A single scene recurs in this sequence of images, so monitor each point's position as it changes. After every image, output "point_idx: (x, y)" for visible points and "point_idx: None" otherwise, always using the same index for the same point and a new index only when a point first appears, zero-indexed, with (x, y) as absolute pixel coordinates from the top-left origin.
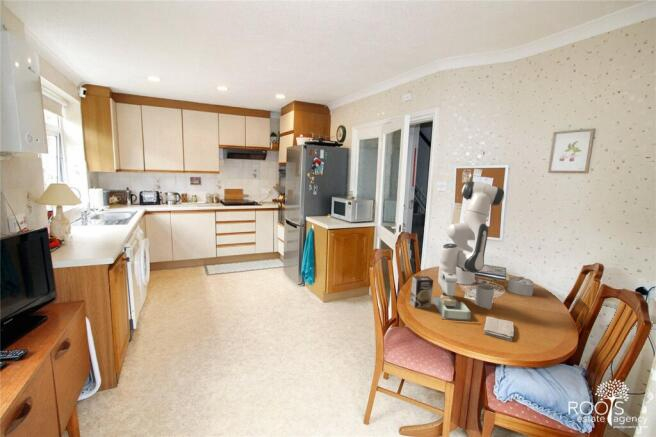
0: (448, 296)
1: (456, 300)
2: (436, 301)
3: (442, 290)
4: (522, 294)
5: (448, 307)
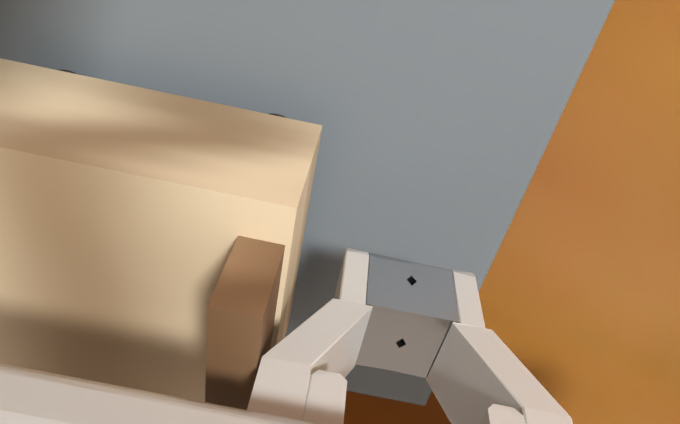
0: (202, 339)
1: (373, 389)
2: (328, 10)
3: (517, 380)
4: None
5: None
